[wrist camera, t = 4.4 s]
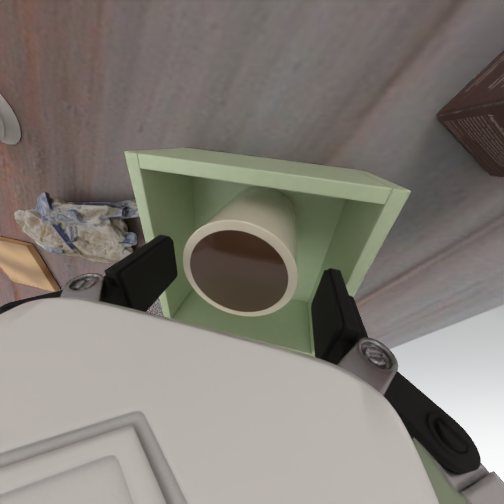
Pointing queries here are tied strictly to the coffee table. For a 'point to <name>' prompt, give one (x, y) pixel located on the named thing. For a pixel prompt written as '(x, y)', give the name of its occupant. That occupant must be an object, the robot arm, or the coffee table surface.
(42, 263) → the plate
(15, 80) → the coffee table surface
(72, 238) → the crumpled paper
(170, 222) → the green box base
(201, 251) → the cup
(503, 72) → the box
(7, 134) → the chalice
